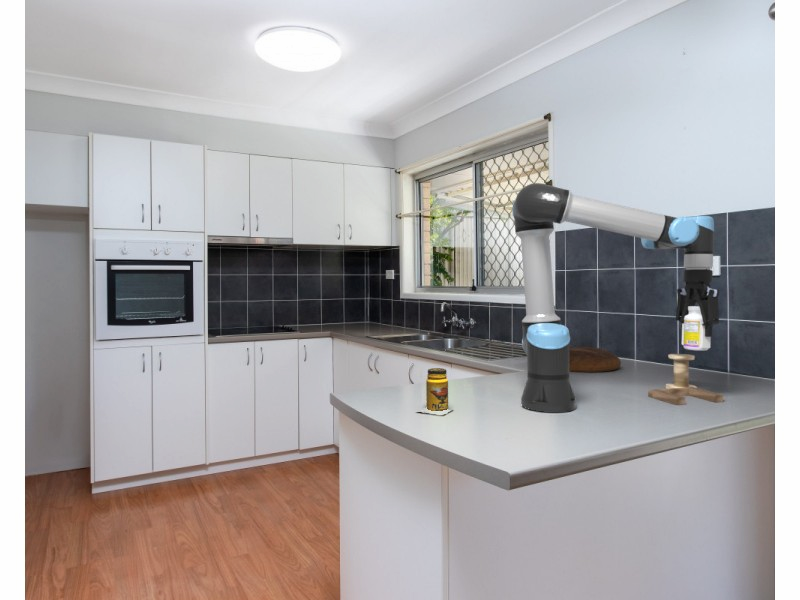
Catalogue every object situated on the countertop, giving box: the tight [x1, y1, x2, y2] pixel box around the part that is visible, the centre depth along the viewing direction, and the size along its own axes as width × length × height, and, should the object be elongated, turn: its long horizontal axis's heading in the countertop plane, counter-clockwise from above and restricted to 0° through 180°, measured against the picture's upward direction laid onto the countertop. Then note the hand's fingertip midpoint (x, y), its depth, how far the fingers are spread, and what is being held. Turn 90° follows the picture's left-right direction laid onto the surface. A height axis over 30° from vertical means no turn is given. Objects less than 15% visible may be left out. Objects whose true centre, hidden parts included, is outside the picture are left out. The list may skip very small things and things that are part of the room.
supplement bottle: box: [683, 305, 710, 352], centre depth 159 cm, size 7×7×13 cm
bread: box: [569, 345, 622, 373], centre depth 220 cm, size 28×27×9 cm
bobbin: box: [665, 353, 698, 389], centre depth 174 cm, size 9×9×11 cm
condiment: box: [425, 367, 449, 411], centre depth 148 cm, size 7×8×12 cm
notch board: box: [647, 387, 724, 406], centre depth 161 cm, size 16×12×2 cm
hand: (695, 346), depth 159 cm, fingers closed on supplement bottle, 7 cm apart
